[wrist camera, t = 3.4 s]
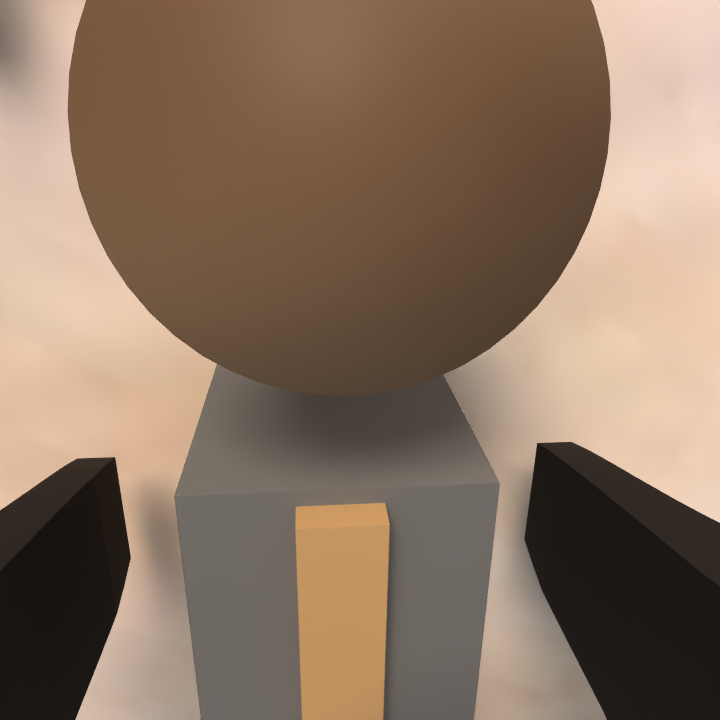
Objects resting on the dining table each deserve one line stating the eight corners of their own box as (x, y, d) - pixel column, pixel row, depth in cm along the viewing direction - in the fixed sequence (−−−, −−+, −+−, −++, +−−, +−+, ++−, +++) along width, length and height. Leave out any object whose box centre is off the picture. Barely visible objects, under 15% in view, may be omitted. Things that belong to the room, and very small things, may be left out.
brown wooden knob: (448, 260, 11) (590, 408, 6) (196, 263, 11) (88, 425, 5) (467, -27, 10) (690, -205, 4) (169, -36, 9) (-25, -245, 4)
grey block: (411, 544, 14) (475, 800, 9) (241, 552, 13) (205, 823, 8) (421, 334, 12) (511, 503, 7) (225, 337, 11) (166, 518, 6)
